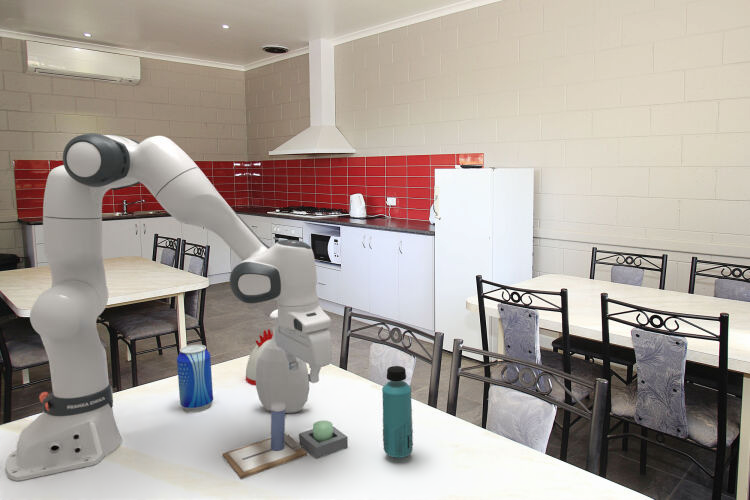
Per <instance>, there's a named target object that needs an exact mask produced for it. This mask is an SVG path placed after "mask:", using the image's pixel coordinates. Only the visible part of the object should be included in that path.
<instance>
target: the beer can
mask: <svg viewBox="0 0 750 500" xmlns="http://www.w3.org/2000/svg"><path fill="white" fill-rule="evenodd" d="M211 360H212V359H211V353H210V351H208V350H207V346H206V345H204V344H191V345H185V346H183V347H181V348H180V349H179V354H178V356H177V358H176V365H177V366H176V367H177V381H178V391H179V392H178V393H179V403H180V404H179V405H180V407H182V408H183V410H184V411H186V412H193V413H194V412H199V411H200V412H201V411H203V410H206V409H208V408H209V407H210V406H211V403H213V401H214V393H213V392H214V391H213V377H212V361H211Z"/></svg>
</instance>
